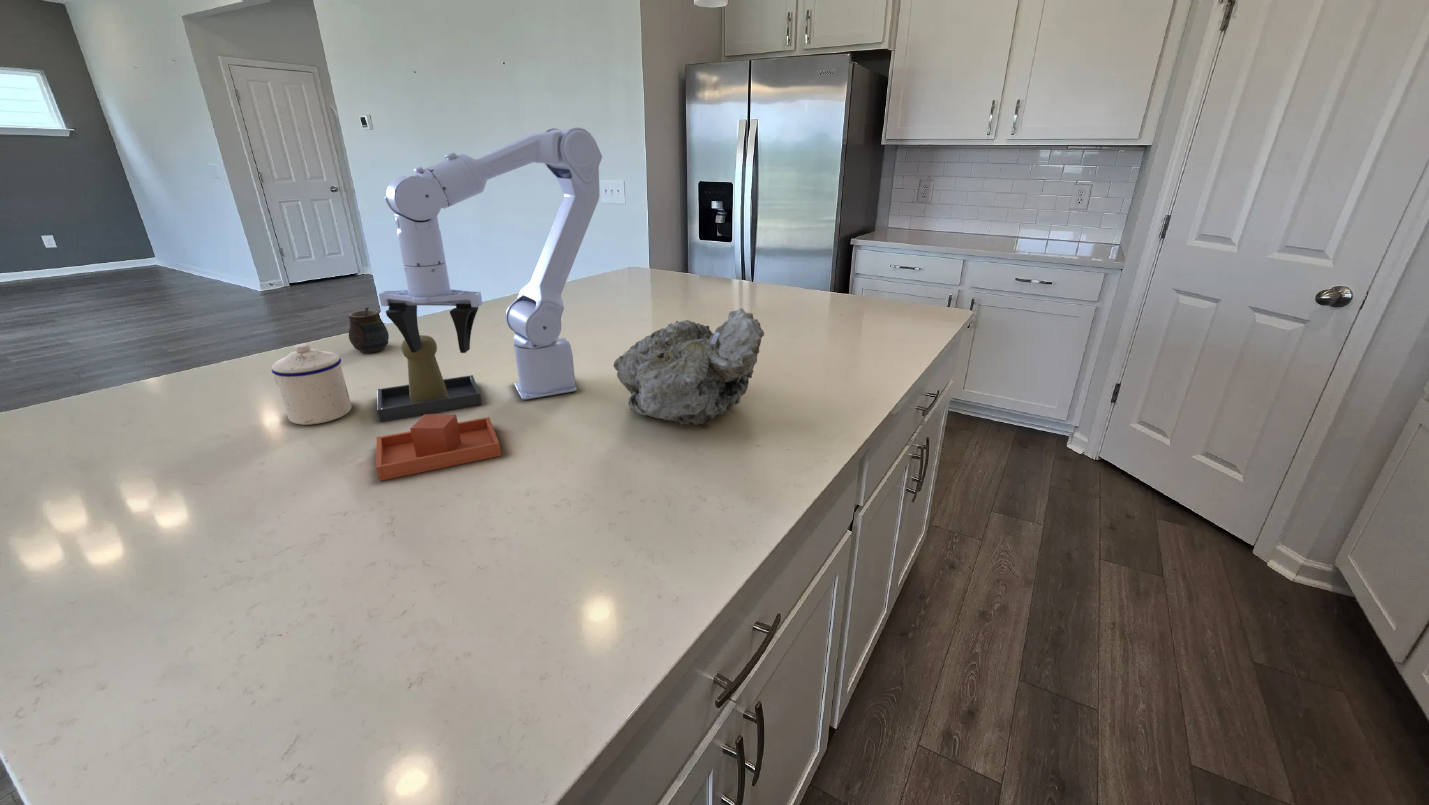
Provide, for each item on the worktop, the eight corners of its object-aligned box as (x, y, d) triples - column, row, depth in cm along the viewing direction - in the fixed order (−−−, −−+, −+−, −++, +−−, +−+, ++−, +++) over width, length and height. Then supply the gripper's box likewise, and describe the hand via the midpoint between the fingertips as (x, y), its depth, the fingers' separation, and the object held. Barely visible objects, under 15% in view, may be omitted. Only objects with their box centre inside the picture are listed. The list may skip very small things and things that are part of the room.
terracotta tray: (491, 428, 90) (489, 416, 89) (501, 455, 82) (499, 443, 81) (379, 449, 83) (376, 437, 83) (379, 481, 76) (375, 467, 75)
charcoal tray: (474, 385, 106) (472, 374, 105) (481, 404, 98) (480, 393, 98) (380, 399, 100) (377, 388, 99) (379, 421, 92) (377, 410, 91)
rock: (670, 301, 106) (762, 273, 86) (716, 379, 112) (812, 369, 92) (572, 375, 94) (652, 362, 74) (628, 458, 100) (717, 466, 80)
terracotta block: (416, 457, 80) (409, 428, 79) (430, 442, 85) (424, 414, 83) (449, 457, 80) (443, 428, 79) (461, 442, 85) (456, 414, 83)
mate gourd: (381, 342, 129) (371, 297, 125) (399, 348, 125) (389, 302, 121) (346, 350, 123) (334, 304, 119) (364, 357, 119) (352, 309, 115)
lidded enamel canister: (366, 406, 97) (349, 339, 92) (318, 429, 89) (296, 357, 84) (311, 397, 100) (292, 332, 96) (259, 419, 92) (235, 349, 88)
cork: (434, 408, 95) (421, 344, 91) (401, 404, 97) (387, 341, 92) (456, 394, 101) (445, 333, 96) (425, 391, 102) (413, 330, 98)
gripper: (360, 267, 82) (381, 358, 88) (463, 268, 83) (477, 359, 88) (385, 259, 89) (403, 344, 94) (481, 260, 89) (493, 345, 94)
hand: (440, 350), depth 92 cm, fingers open, 7 cm apart
